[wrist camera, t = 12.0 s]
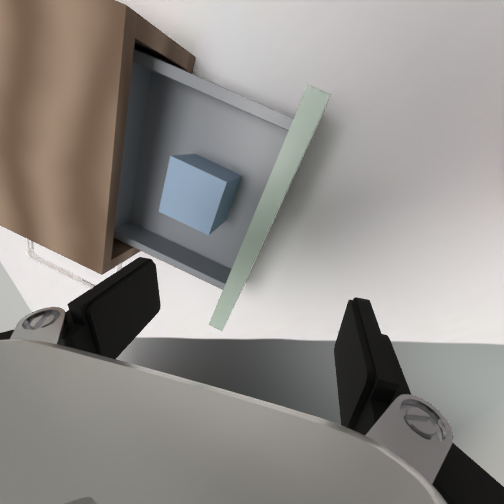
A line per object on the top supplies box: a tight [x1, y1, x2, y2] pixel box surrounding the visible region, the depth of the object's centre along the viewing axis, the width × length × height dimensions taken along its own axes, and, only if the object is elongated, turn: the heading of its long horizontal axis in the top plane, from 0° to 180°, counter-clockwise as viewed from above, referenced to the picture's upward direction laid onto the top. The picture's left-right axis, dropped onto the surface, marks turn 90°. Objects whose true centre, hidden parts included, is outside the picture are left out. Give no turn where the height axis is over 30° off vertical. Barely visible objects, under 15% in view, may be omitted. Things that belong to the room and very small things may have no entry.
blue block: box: [159, 154, 242, 235], centre depth 22 cm, size 5×5×4 cm
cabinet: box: [0, 0, 195, 275], centre depth 22 cm, size 16×20×9 cm
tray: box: [114, 49, 331, 331], centre depth 21 cm, size 16×20×8 cm
